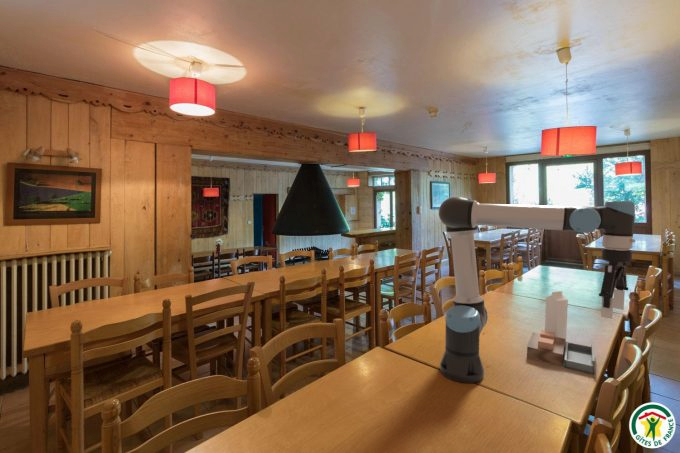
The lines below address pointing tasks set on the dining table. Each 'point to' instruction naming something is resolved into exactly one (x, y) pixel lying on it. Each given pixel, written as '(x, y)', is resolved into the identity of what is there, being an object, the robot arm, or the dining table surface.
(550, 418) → the dining table surface
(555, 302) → the milk
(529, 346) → the brown flat block
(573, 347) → the tray
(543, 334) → the tile
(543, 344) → the tile
